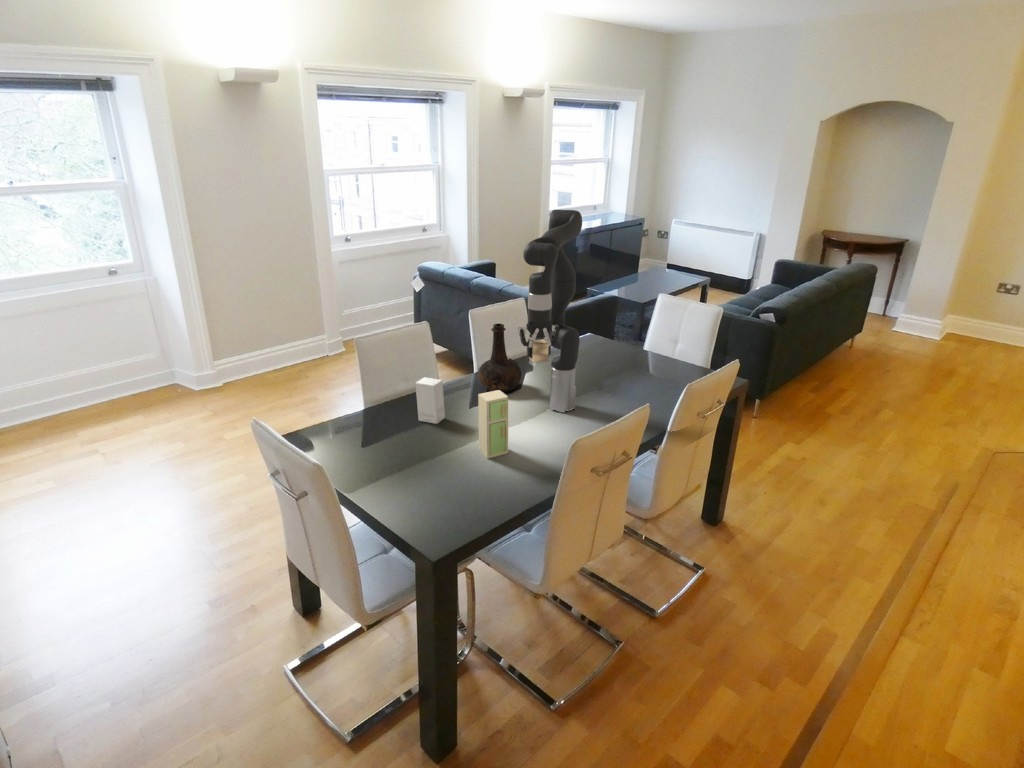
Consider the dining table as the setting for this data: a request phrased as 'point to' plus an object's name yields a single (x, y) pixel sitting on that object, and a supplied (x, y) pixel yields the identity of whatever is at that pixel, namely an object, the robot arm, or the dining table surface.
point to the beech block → (540, 351)
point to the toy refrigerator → (493, 423)
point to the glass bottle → (499, 366)
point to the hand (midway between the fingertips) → (538, 356)
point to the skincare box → (430, 400)
